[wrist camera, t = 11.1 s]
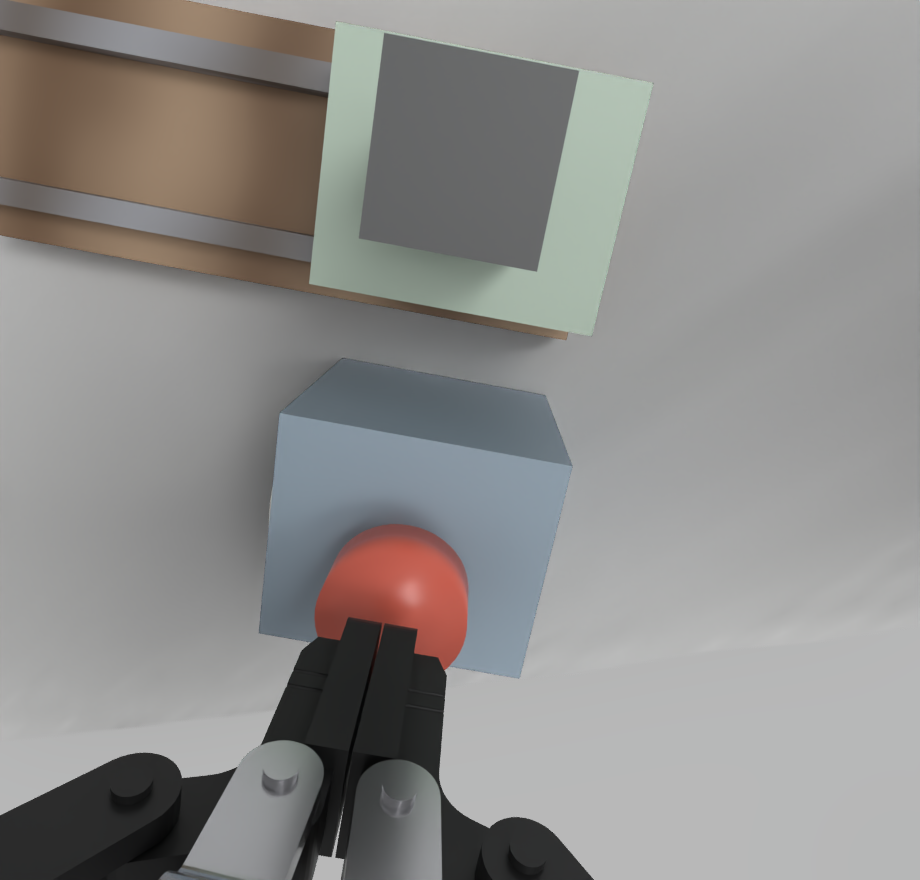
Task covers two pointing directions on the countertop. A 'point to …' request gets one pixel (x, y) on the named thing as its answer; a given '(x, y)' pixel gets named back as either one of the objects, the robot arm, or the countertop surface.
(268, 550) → the button box
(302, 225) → the rail track
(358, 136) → the carriage
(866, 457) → the countertop surface
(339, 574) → the button
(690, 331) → the countertop surface
